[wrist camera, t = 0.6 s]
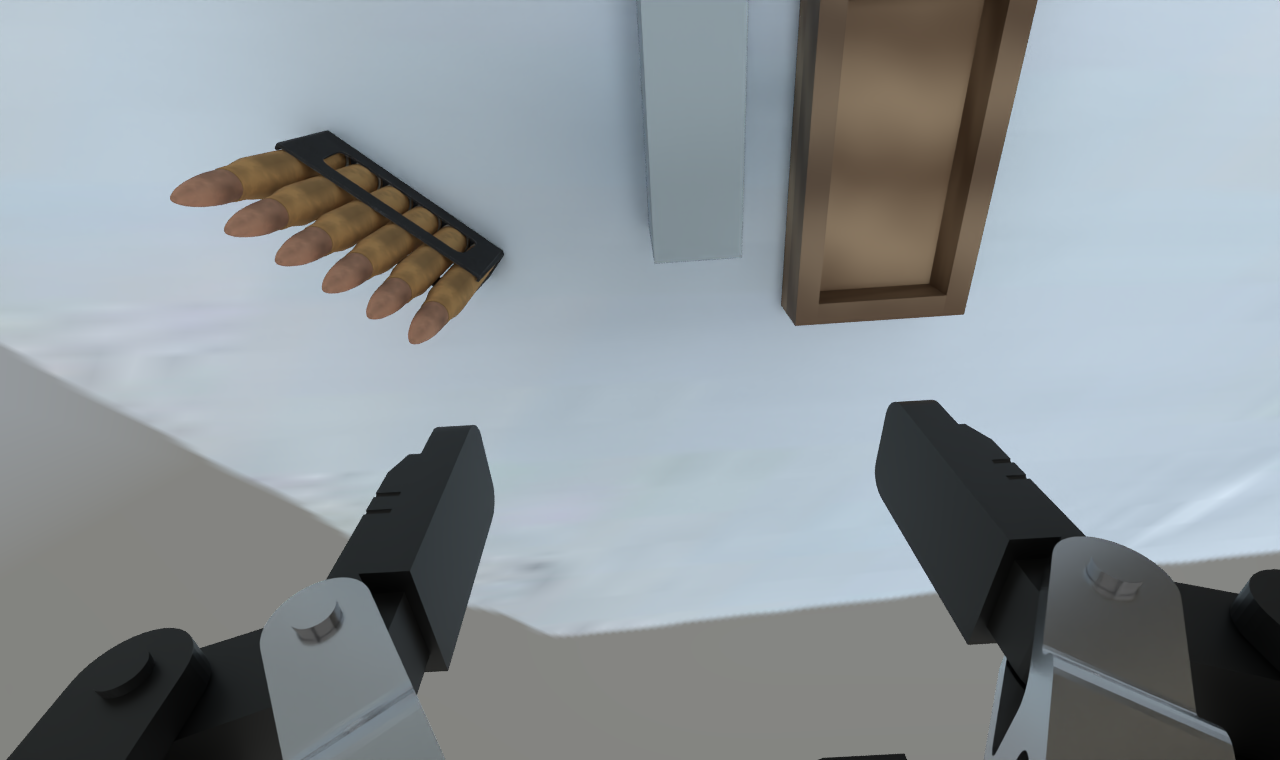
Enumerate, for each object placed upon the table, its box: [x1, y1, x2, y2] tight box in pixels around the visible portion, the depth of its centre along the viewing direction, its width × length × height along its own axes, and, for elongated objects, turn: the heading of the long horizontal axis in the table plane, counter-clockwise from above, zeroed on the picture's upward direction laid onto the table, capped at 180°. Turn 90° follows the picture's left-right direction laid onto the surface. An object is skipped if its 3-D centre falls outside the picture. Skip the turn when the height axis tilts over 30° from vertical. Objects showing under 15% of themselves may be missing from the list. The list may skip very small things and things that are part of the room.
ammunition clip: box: [170, 131, 504, 344], centre depth 25 cm, size 11×2×12 cm, turn 52°
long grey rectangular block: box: [636, 0, 748, 264], centre depth 25 cm, size 12×4×7 cm, turn 4°
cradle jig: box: [781, 0, 1037, 326], centre depth 28 cm, size 16×9×3 cm, turn 4°
